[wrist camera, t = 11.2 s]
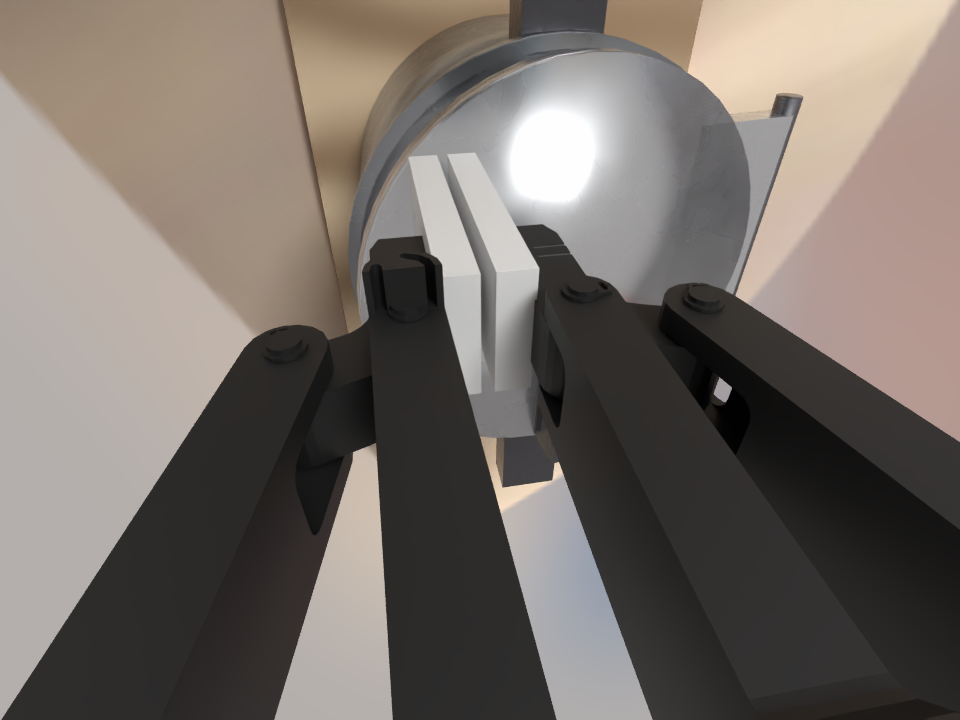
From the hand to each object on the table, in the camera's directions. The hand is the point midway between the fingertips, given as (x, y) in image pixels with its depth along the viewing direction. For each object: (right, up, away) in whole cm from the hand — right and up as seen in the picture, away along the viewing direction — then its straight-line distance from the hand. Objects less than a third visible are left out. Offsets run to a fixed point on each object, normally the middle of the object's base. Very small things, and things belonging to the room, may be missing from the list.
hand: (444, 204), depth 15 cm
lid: (+4, -1, +4) cm, 6 cm away
